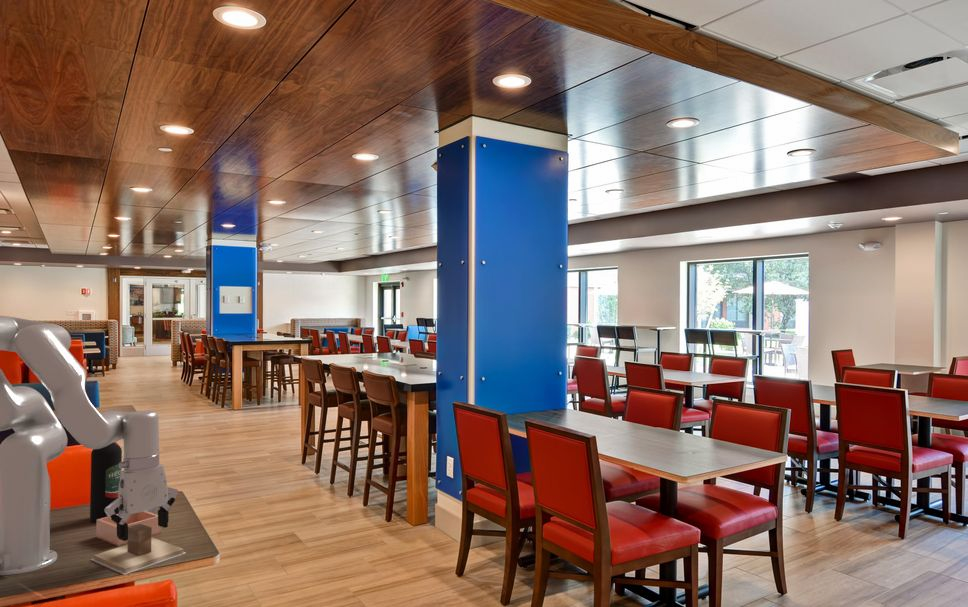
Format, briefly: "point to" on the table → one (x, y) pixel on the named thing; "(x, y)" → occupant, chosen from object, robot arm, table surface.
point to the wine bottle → (104, 479)
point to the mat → (133, 570)
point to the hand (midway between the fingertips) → (143, 532)
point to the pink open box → (108, 528)
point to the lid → (138, 550)
